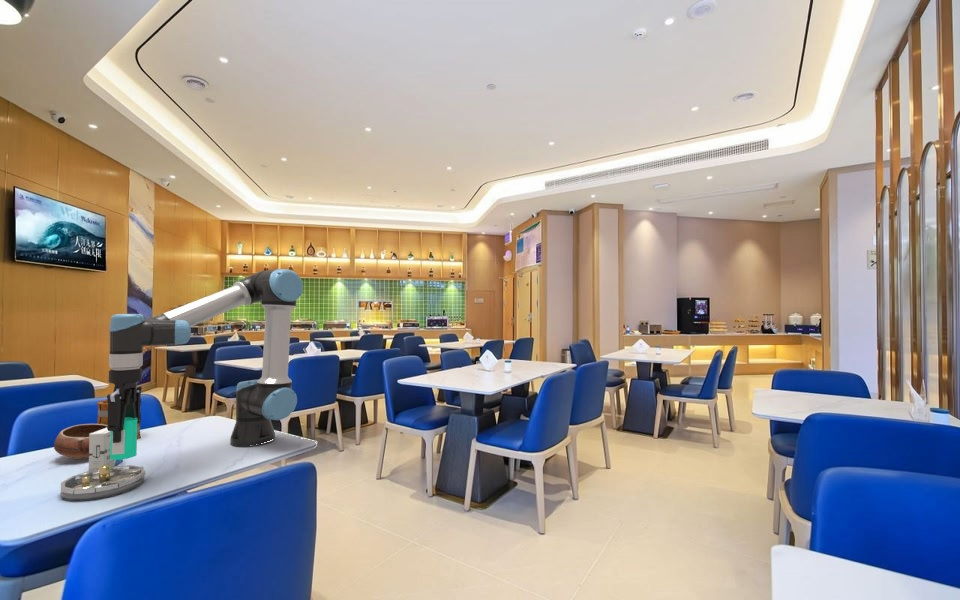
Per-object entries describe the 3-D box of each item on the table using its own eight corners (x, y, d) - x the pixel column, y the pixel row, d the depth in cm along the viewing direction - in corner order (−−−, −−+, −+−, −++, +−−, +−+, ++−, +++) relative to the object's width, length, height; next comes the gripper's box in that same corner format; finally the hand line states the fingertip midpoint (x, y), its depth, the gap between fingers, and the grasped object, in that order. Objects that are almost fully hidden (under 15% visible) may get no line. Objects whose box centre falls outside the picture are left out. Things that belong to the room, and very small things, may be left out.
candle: (122, 460, 125) (123, 417, 125) (104, 459, 126) (105, 415, 126) (142, 453, 131) (143, 412, 131) (124, 452, 132) (125, 411, 132)
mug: (136, 443, 168) (137, 402, 168) (90, 447, 162) (90, 405, 163) (148, 429, 186) (149, 393, 186) (107, 433, 180) (107, 395, 180)
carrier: (155, 473, 138) (156, 453, 138) (123, 498, 120) (124, 475, 121) (86, 478, 134) (87, 457, 134) (43, 504, 116) (43, 480, 117)
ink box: (107, 462, 148) (108, 425, 148) (124, 461, 148) (124, 425, 148) (87, 471, 139) (88, 433, 139) (104, 471, 140) (105, 433, 140)
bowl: (72, 467, 143) (73, 435, 143) (42, 461, 148) (43, 430, 148) (126, 452, 157) (126, 423, 157) (97, 447, 163) (97, 419, 163)
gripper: (127, 364, 137) (125, 442, 136) (91, 372, 119) (88, 462, 119) (155, 364, 138) (153, 440, 138) (124, 372, 121) (121, 460, 120)
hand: (123, 450), depth 128 cm, fingers closed on candle, 5 cm apart
